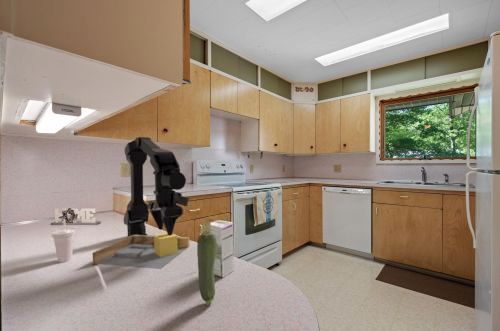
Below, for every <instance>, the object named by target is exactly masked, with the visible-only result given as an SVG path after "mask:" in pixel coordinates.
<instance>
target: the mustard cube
mask: <svg viewBox="0 0 500 331" xmlns="http://www.w3.org/2000/svg"><path fill="white" fill-rule="evenodd" d="M153 236H154V251H155V253H156V254H157V255H158V256H159V257H164V256H168V255H171V254H175V253H178V247H177V237H178V235H177V234H175V233H173V232H172V235H170V236H169V235H168V233H167V232H164V233H160V234H155V235H153Z"/></svg>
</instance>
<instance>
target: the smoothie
mask: <svg viewBox="0 0 500 331" xmlns="http://www.w3.org/2000/svg"><path fill="white" fill-rule="evenodd" d="M62 221H63V222H62V225H63V226H62V228H63V229H59V230H55V231H53V232H52V233H51V237H52V238H53V242H54V247H55V251H56V258H57V262H58V263H66V261H67V262H69V260H70V261H72V259H73V253H74V252H73V251H74V250H73V249H74V241H75V234H76V229H74V228H69V229H68V228H66V218H63V219H62Z"/></svg>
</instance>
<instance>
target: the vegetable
mask: <svg viewBox="0 0 500 331" xmlns="http://www.w3.org/2000/svg"><path fill="white" fill-rule="evenodd" d="M213 221H215V220H214V217H213V216H212V215H210V216H208V217H207V218H205V220H204V222H203V225H202V229H201V231H202V233H201V234H200V235H199V236H198V239H197V246H196V248H197V249H196V250H197V252H196V253H197V268H198V271H197V272H198V279H197V280H198V289H199V294H200V297H201V299H202V300H203V301H204V303H205V304H206V305H207V306H209V305H210V304H212V302H213V301H214V300H215V295H216V285H215V275H214V262H215V257H216V248H217V242H216V238H215V236H214V234H213V233H212V232H210V231H211V230H210V229H211V222H213Z"/></svg>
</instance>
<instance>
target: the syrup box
mask: <svg viewBox="0 0 500 331" xmlns="http://www.w3.org/2000/svg"><path fill="white" fill-rule="evenodd" d="M210 223H211V229H210V230H211V231H210V232H212V233H213V234H214V236H215V238H216V242H217V248H216V257H215V262H214V276H216V277H220V278H225V277H227V276H228V275H230V274H231V273H233V272H234V271H235V257H234V256H235V255H234V251H235V250H234V249H235V248H234V223H233V221H227V220H226V221H225V220H219V219H218V220H214V221H213V222H211V221H210Z"/></svg>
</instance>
